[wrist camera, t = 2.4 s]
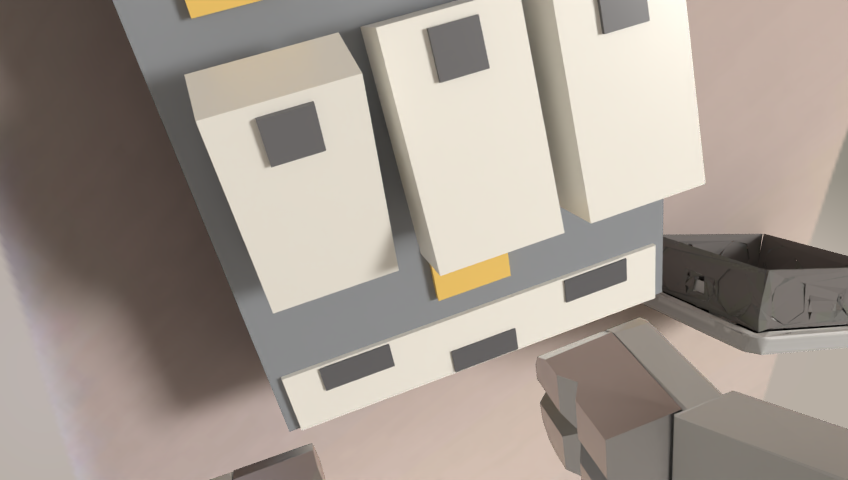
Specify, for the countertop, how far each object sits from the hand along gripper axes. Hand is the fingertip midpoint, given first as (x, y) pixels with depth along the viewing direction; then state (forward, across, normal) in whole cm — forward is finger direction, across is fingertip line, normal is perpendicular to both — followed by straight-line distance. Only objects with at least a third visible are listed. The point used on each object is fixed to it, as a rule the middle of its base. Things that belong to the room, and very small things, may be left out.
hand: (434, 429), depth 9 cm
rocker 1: (+15, 0, -3) cm, 15 cm away
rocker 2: (+15, +5, -3) cm, 16 cm away
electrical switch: (+21, +20, -18) cm, 35 cm away
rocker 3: (+15, +11, -3) cm, 19 cm away
